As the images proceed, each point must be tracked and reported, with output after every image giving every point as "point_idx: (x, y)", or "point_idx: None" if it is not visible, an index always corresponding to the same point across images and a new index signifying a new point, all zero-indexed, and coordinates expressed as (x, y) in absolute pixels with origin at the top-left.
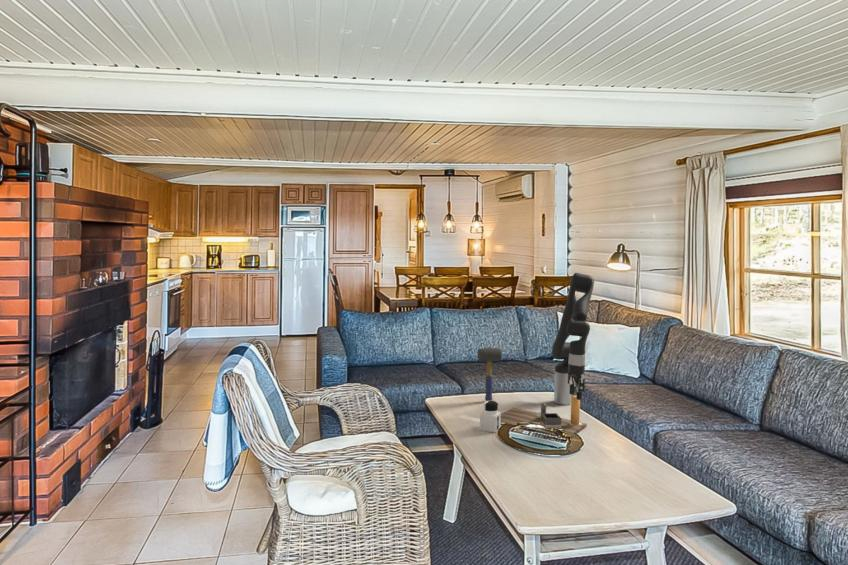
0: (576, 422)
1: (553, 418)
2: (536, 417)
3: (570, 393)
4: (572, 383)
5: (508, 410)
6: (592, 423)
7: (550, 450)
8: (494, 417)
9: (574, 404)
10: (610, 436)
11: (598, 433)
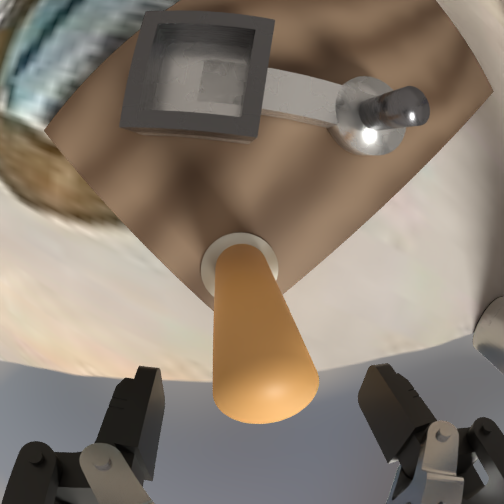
0: (215, 272)
1: (131, 66)
2: None
3: (373, 372)
4: (405, 490)
5: (468, 47)
6: None
7: (3, 51)
8: None
9: (221, 321)
10: (106, 357)
11: (139, 332)
